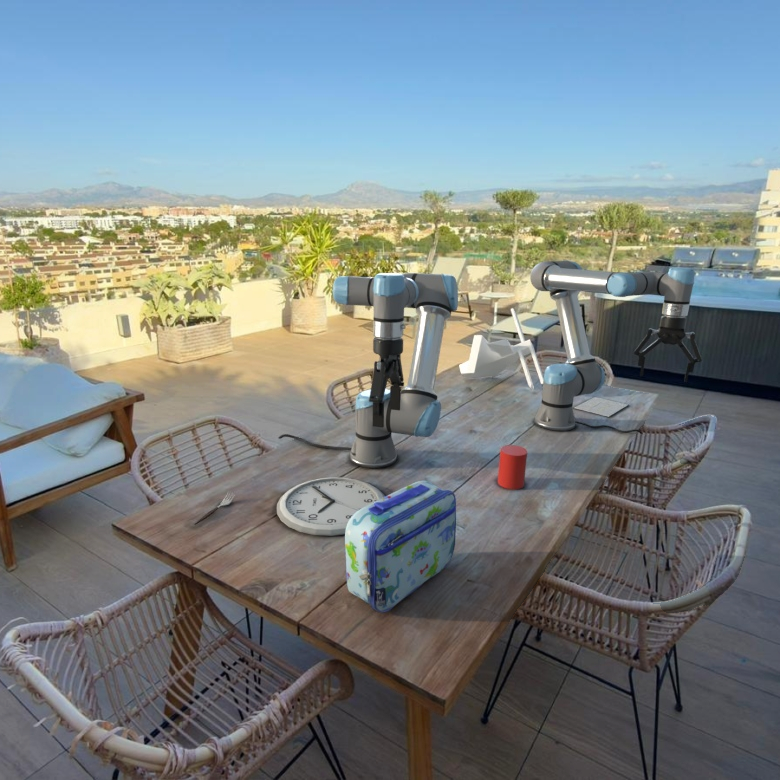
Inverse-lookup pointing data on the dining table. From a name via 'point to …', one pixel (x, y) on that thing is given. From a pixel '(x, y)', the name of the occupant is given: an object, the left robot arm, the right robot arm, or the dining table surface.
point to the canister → (512, 466)
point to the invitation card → (601, 406)
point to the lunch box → (399, 543)
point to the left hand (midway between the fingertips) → (386, 417)
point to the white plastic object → (499, 356)
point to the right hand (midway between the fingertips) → (662, 378)
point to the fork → (223, 503)
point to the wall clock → (325, 504)
